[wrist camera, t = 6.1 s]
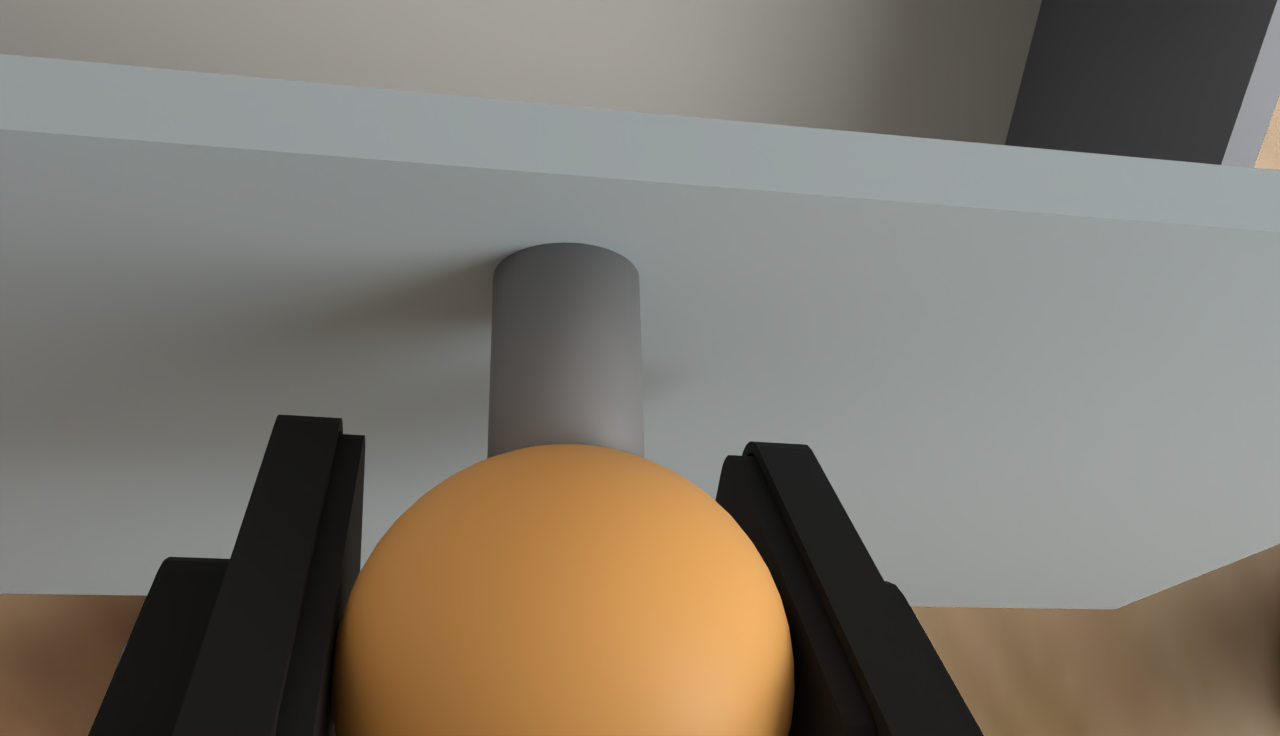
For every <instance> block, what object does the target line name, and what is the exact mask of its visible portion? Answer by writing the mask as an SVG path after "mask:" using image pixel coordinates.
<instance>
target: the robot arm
mask: <svg viewBox="0 0 1280 736" xmlns="http://www.w3.org/2000/svg"><path fill="white" fill-rule="evenodd" d="M364 468H365V435H351V434H343V422H342V418H332V417H314V416H296V415H278V416H277V418H276V420H275V423H274V426H273V430H272V433H271V436H270V439H269V442H268V445H267V448H266V451H265V454H264V457H263V460H262V463H261V466H260V469H259V472H258V475H257V478H256V481H255V484H254V487H253V491H252V494H251V497H250V500H249V503H248V506H247V509H246V512H245V515H244V518H243V521H242V524H241V527H240V530H239V533H238V536H237V539H236V542H235V545H234V548H233V551H232V555H231V558H230V559H221V558H192V557H168V558H166V559H165V560H163V562H162V564H161V566H160V568H159V569H158V571H157V574H156V576H155V578H154V581H153V583H152V585H151V588H150V590H149V593H148V595H147V597H146V600H145V602H144V604H143V607H142V609H141V612H140V614H139V616H138V619H137V621H136V624H135V626H134V628H133V631H132V633H131V635H130V638H129V640H128V643H127V645H126V647H125V650H124V652H123V654H122V657H121V659H120V662H119V664H118V666H117V669H116V671H115V673H114V676H113V678H112V681H111V683H110V685H109V688H108V690H107V692H106V695H105V697H104V700H103V702H102V704H101V707H100V709H99V711H98V714H97V716H96V719H95V721H94V723H93V726H92V728H91V730H90V733H89V735H88V736H335V730H334V721H333V712H332V704H331V686H332V664H333V656H334V649H335V642H336V636H337V631H338V628H339V624H340V621H341V617H342V614H343V611H344V607H345V604H346V601H347V599H348V597H349V595H350V592H351V590H352V588H353V586H354V583H355V581H356V579H357V576H358V574H359V573H360V563H361V540H362V516H363V492H364ZM715 501H716V502H717V503H718V504H719V505H720V506H721V507H723V508H724V509H725V510H726V511H727V512H728V513H729V514H730V515H731V516H732V517H733V519H734V520H735V521H736V522H737V523H738V525H739V526H740V527H741V528H742V530H743V531H744V532H745V533H746V535H747V536H748V537H749V539H750V540H751V541H752V543H753V544H754V546H755V547H756V549H757V551H758V552H759V554H760V556H761V557H762V559H763V561H764V562H765V564H766V566H767V567H768V569H769V571H770V573H771V576H772V578H773V580H774V583H775V585H776V587H777V590H778V592H779V594H780V597H781V600H782V604H783V607H784V611H785V614H786V618H787V621H788V625H789V630H790V637H791V644H792V651H793V657H794V682H795V695H794V704H793V713H792V722H791V727H790V731H789V735H788V736H984V735H983V733H982V732H981V730H980V728H979V726H978V725H977V723H976V721H975V719H974V718H973V716H972V714H971V712H970V711H969V709H968V707H967V705H966V704H965V702H964V700H963V698H962V697H961V695H960V693H959V691H958V689H957V688H956V686H955V684H954V682H953V681H952V679H951V677H950V675H949V674H948V672H947V670H946V668H945V667H944V665H943V663H942V661H941V660H940V658H939V656H938V654H937V653H936V651H935V649H934V647H933V645H932V644H931V642H930V640H929V638H928V637H927V635H926V633H925V631H924V630H923V628H922V626H921V624H920V623H919V621H918V619H917V617H916V616H915V614H914V612H913V610H912V609H911V607H910V605H909V603H908V601H907V600H906V598H905V596H904V595H903V593H902V592H901V591H900V590H899V588H898V587H897V586H896V585H895V584H893V583H890V582H888V581H884V580H883V578H882V576H881V574H880V572H879V570H878V569H877V567H876V565H875V563H874V561H873V560H872V558H871V556H870V554H869V552H868V551H867V549H866V547H865V545H864V543H863V542H862V540H861V538H860V536H859V534H858V532H857V531H856V529H855V527H854V525H853V523H852V522H851V520H850V518H849V516H848V514H847V513H846V511H845V509H844V507H843V505H842V504H841V502H840V500H839V498H838V496H837V495H836V493H835V491H834V489H833V487H832V485H831V484H830V482H829V480H828V478H827V476H826V475H825V473H824V471H823V469H822V467H821V466H820V464H819V462H818V460H817V458H816V457H815V455H814V453H813V451H812V449H811V448H810V447H809V446H808V445H804V444H788V443H771V442H753V441H750V442H749V443H748V444H747V445H746V446H745V448H744V451H743V453H742V456H738V455H728V456H727V457H726V458H725V460H724V463H723V466H722V470H721V474H720V479H719V485H718V490H717V495H716V500H715Z"/></svg>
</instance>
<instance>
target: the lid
mask: <svg viewBox="0 0 1280 736" xmlns="http://www.w3.org/2000/svg"><path fill="white" fill-rule="evenodd" d="M278 415H296V416H314V417H332V418H342V422H343V434H351V435H365V468H364V492H363V516H362V540H361V563H360V573H359V574H358V576H357V579H356V581H355V583H354V586H353V588H352V590H351V592H350V595H349V597H348V599H347V601H346V604H345V607H344V611H343V614H342V617H341V621H340V624H339V628H338V631H337V636H336V642H335V649H334V656H333V664H332V686H331V704H332V712H333V721H334V730H335V736H788V735H789V731H790V727H791V722H792V713H793V704H794V695H795V682H794V657H793V651H792V644H791V637H790V630H789V625H788V621H787V618H786V614H785V611H784V607H783V604H782V600H781V597H780V594H779V592H778V590H777V587H776V585H775V583H774V580H773V578H772V576H771V573H770V571H769V569H768V567H767V566H766V564H765V562H764V561H763V559H762V557H761V556H760V554H759V552H758V551H757V549H756V547H755V546H754V544H753V543H752V541H751V540H750V539H749V537H748V536H747V535H746V533H745V532H744V531H743V530H742V528H741V527H740V526H739V525H738V523H737V522H736V521H735V520H734V519H733V517H732V516H731V515H730V514H729V513H728V512H727V511H726V510H725V509H724V508H723V507H721V506H720V505H719V504H718V503H717V502H716V501H715V500H716V495H717V490H718V485H719V479H720V474H721V470H722V466H723V463H724V460H725V458H726V457H727V456H728V455H738V456H742V453H743V451H744V448H745V446H746V445H747V444H748V443H749V442H750V441H753V442H771V443H788V444H804V445H808V446H809V447H810V448H811V449H812V451H813V453H814V455H815V457H816V458H817V460H818V462H819V464H820V466H821V467H822V469H823V471H824V473H825V475H826V476H827V478H828V480H829V482H830V484H831V485H832V487H833V489H834V491H835V493H836V495H837V496H838V498H839V500H840V502H841V504H842V505H843V507H844V509H845V511H846V513H847V514H848V516H849V518H850V520H851V522H852V523H853V525H854V527H855V529H856V531H857V532H858V534H859V536H860V538H861V540H862V542H863V543H864V545H865V547H866V549H867V551H868V552H869V554H870V556H871V558H872V560H873V561H874V563H875V565H876V567H877V569H878V570H879V572H880V574H881V576H882V578H883V580H884V581H888V582H890V583H893V584H895V585H896V586H897V587H898V588H899V590H900V591H901V592H902V593H903V595H904V596H905V598H906V600H907V601H908V603H909V605H910V607H974V608H1044V609H1113V610H1115V609H1118V608H1120V607H1123V606H1125V605H1128V604H1130V603H1133V602H1135V601H1138V600H1140V599H1143V598H1145V597H1148V596H1150V595H1153V594H1155V593H1158V592H1161V591H1163V590H1166V589H1168V588H1171V587H1173V586H1176V585H1178V584H1181V583H1183V582H1186V581H1188V580H1191V579H1193V578H1196V577H1198V576H1201V575H1203V574H1206V573H1208V572H1211V571H1213V570H1216V569H1218V568H1221V567H1223V566H1226V565H1228V564H1231V563H1233V562H1236V561H1238V560H1241V559H1243V558H1246V557H1248V556H1251V555H1253V554H1256V553H1258V552H1261V551H1263V550H1266V549H1269V548H1271V547H1274V546H1276V545H1279V544H1280V170H1270V169H1259V168H1248V167H1237V166H1226V165H1215V164H1204V163H1193V162H1182V161H1171V160H1160V159H1149V158H1139V157H1128V156H1117V155H1106V154H1095V153H1084V152H1073V151H1062V150H1051V149H1040V148H1029V147H1018V146H1007V145H996V144H985V143H974V142H963V141H952V140H941V139H930V138H919V137H908V136H897V135H886V134H875V133H864V132H853V131H842V130H831V129H820V128H809V127H798V126H787V125H776V124H765V123H754V122H743V121H732V120H722V119H711V118H700V117H689V116H678V115H667V114H656V113H645V112H634V111H623V110H612V109H601V108H590V107H579V106H568V105H557V104H546V103H535V102H524V101H513V100H502V99H491V98H480V97H469V96H458V95H447V94H436V93H425V92H414V91H403V90H392V89H381V88H370V87H359V86H348V85H337V84H326V83H316V82H305V81H294V80H283V79H272V78H261V77H250V76H239V75H228V74H217V73H206V72H195V71H184V70H173V69H162V68H151V67H140V66H129V65H118V64H107V63H96V62H85V61H74V60H63V59H52V58H41V57H30V56H19V55H8V54H0V593H1V594H71V595H140V596H147V595H148V593H149V590H150V588H151V585H152V583H153V581H154V578H155V576H156V574H157V571H158V569H159V568H160V566H161V564H162V562H163V560H165V559H166V558H168V557H192V558H221V559H230V558H231V555H232V551H233V548H234V545H235V542H236V539H237V536H238V533H239V530H240V527H241V524H242V521H243V518H244V515H245V512H246V509H247V506H248V503H249V500H250V497H251V494H252V491H253V487H254V484H255V481H256V478H257V475H258V472H259V469H260V466H261V463H262V460H263V457H264V454H265V451H266V448H267V445H268V442H269V439H270V436H271V433H272V430H273V426H274V423H275V420H276V418H277V416H278Z"/></svg>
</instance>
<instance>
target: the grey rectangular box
mask: <svg viewBox="0 0 1280 736" xmlns="http://www.w3.org/2000/svg"><path fill="white" fill-rule="evenodd" d="M0 54H8V55H19V56H30V57H41V58H52V59H63V60H74V61H85V62H96V63H107V64H118V65H129V66H140V67H151V68H162V69H173V70H184V71H195V72H206V73H217V74H228V75H239V76H250V77H261V78H272V79H283V80H294V81H305V82H316V83H326V84H337V85H348V86H359V87H370V88H381V89H392V90H403V91H414V92H425V93H436V94H447V95H458V96H469V97H480V98H491V99H502V100H513V101H524V102H535V103H546V104H557V105H568V106H579V107H590V108H601V109H612V110H623V111H634V112H645V113H656V114H667V115H678V116H689V117H700V118H711V119H722V120H732V121H743V122H754V123H765V124H776V125H787V126H798V127H809V128H820V129H831V130H842V131H853V132H864V133H875V134H886V135H897V136H908V137H919V138H930V139H941V140H952V141H963V142H974V143H985V144H996V145H1007V146H1018V147H1029V148H1040V149H1051V150H1062V151H1073V152H1084V153H1095V154H1106V155H1117V156H1128V157H1139V158H1149V159H1160V160H1171V161H1182V162H1193V163H1204V164H1215V165H1226V166H1237V167H1248V168H1254V165H1255V162H1256V159H1257V157H1258V154H1259V151H1260V148H1261V145H1262V143H1263V140H1264V137H1265V134H1266V131H1267V128H1268V126H1269V123H1270V120H1271V117H1272V114H1273V112H1274V109H1275V106H1276V103H1277V100H1278V98H1279V95H1280V0H0Z"/></svg>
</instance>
